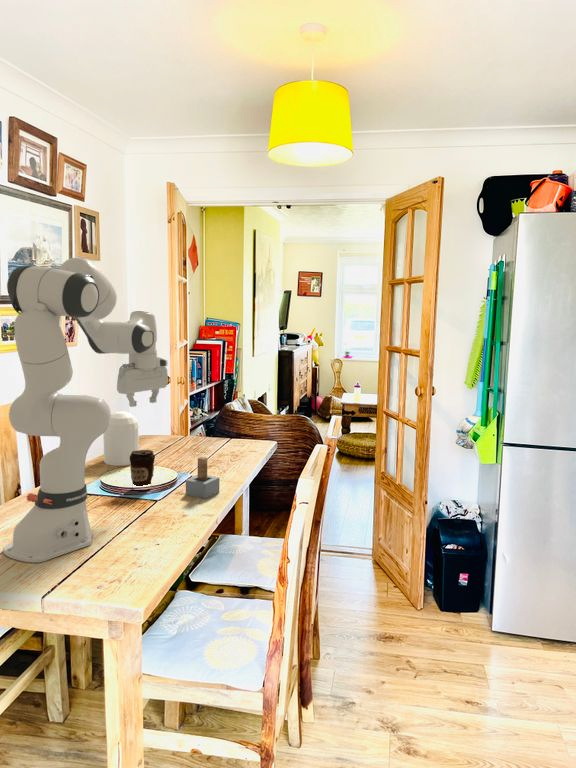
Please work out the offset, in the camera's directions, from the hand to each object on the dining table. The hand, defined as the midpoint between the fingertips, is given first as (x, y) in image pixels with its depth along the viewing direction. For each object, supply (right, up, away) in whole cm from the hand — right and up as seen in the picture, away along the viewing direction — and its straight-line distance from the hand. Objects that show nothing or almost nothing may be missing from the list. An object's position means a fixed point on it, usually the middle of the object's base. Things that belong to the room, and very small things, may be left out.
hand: (143, 404), depth 189 cm
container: (-19, -24, +42) cm, 52 cm away
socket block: (+19, -30, +6) cm, 36 cm away
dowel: (+18, -30, +6) cm, 36 cm away
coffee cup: (-2, -29, +9) cm, 31 cm away
